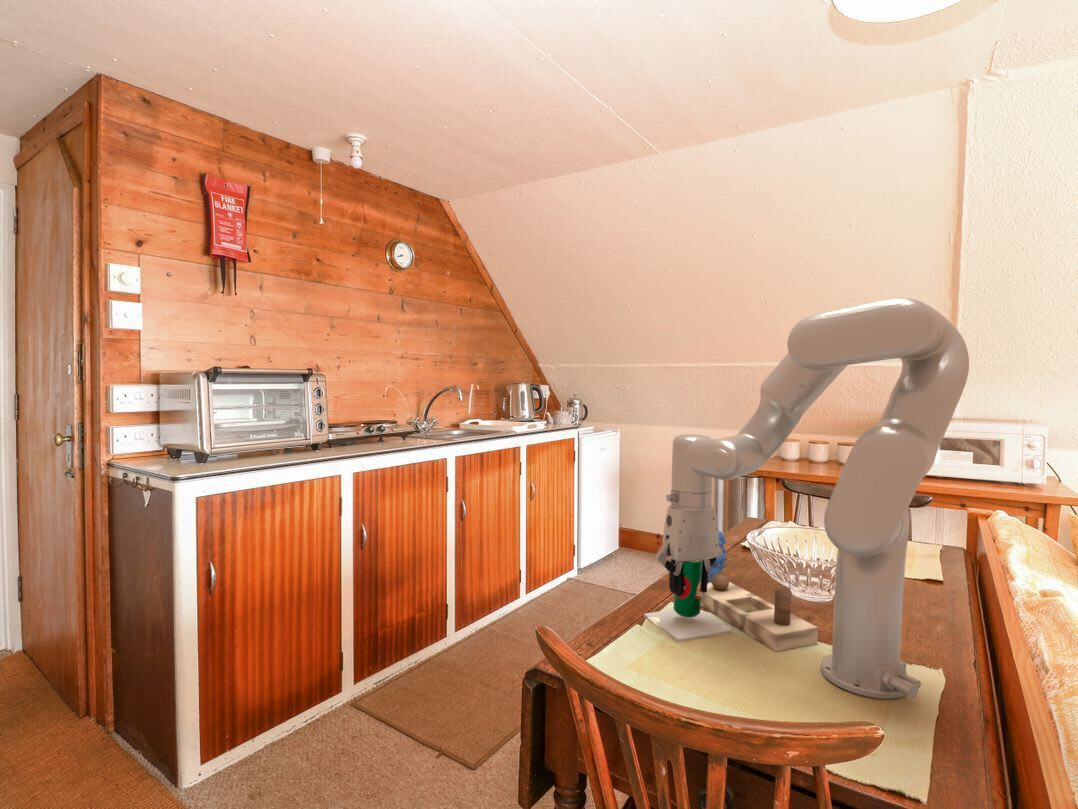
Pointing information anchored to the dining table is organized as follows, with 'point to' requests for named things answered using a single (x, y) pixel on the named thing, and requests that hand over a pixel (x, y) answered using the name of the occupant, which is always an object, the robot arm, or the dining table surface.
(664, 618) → the mat
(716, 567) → the grapes
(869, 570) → the robot arm
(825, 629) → the dining table surface
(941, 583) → the dining table surface
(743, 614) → the wooden holder block
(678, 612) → the soda can
